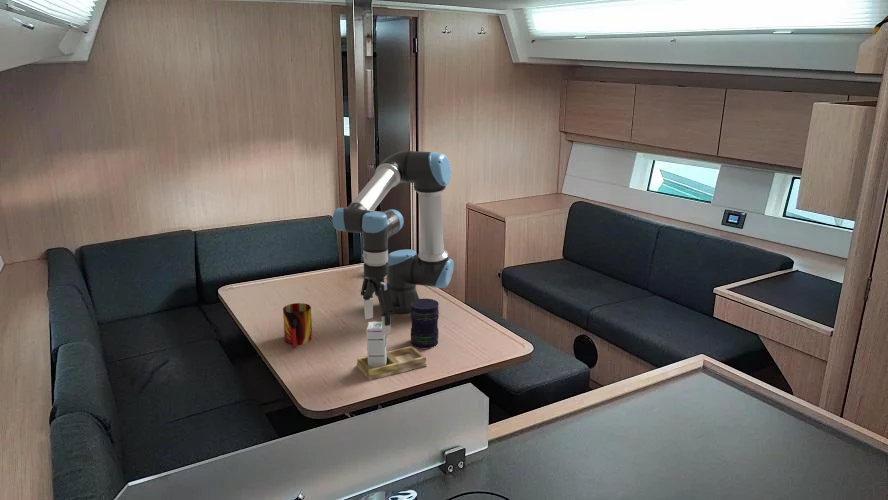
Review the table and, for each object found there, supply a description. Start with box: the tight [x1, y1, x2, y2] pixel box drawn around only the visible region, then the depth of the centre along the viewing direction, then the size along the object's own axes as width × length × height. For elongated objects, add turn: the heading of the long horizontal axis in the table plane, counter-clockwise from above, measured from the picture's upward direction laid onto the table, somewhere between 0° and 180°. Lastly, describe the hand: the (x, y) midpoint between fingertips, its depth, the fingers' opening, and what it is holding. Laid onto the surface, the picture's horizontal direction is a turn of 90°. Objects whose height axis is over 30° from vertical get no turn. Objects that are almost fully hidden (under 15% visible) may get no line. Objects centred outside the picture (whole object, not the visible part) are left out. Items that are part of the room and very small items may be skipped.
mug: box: [282, 302, 313, 349], centre depth 227 cm, size 10×14×12 cm
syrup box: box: [366, 321, 387, 369], centre depth 207 cm, size 6×6×14 cm
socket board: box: [356, 345, 427, 381], centre depth 211 cm, size 20×11×3 cm, turn 120°
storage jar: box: [410, 298, 440, 349], centre depth 227 cm, size 10×10×15 cm
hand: (377, 326), depth 205 cm, fingers open, 13 cm apart
